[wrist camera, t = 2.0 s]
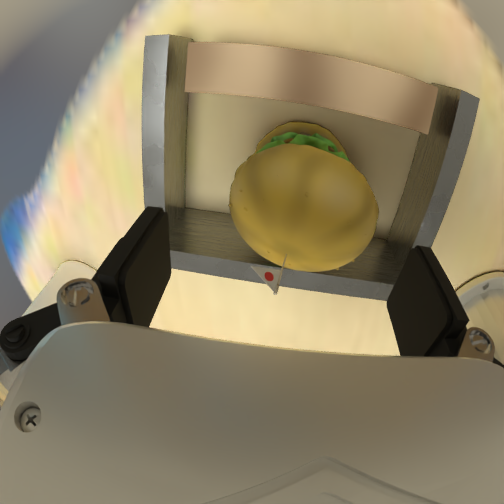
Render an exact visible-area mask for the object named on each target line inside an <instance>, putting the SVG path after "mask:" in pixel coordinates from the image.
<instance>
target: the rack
mask: <svg viewBox="0 0 504 504" xmlns="http://www.w3.org/2000/svg"><path fill="white" fill-rule="evenodd" d="M188 42H193V39H189V38H184V37H180V36H175V35H170V34H168V35H152V36H145V47H144V63H143V84H142V164H143V187H144V204H145V209H146V207H147V206H152V207H161V208H163V210H164V212H167V213H168V221H169V241H170V257H171V268H173V269H179V270H184V271H190V272H196V273H202V274H208V275H214V276H220V277H226V278H232V279H238V280H244V281H250V282H257V283H263V284H266V283H265V282H264V281H263V279H262V278H261V277H260V276H259V275H258V274H257V273H256V272H255V271H254V270H253V269H252V268H251V266H256V267H263V268H270V269H278V270H281V268H282V267H281V266H279V265H277V264H275V263H273V262H271V261H269V260H267V259H266V258H264V257H262V256H261V255H259V254H258V253H256V252H255V251H254V250H253V249H252V248H251V247H250V246H249V245H248V244H247V243H246V242H245V240H244V239H243V238H242V237H241V235H240V234H239V232H238V231H237V229H236V226H235V224H234V222H233V219H232V216H231V214H226V213H219V212H212V211H205V210H197V209H190V208H185V163H186V132H187V111H188V94H189V92H185V80H186V66H187V53H188ZM431 85H433V86H436V87H438V92H437V97H436V102H435V107H434V111H433V116H432V120H431V124H430V128H429V132H428V134H424V133H420V137H419V141H418V145H417V148H416V152H415V156H414V159H413V163H412V166H411V170H410V173H409V176H408V179H407V183H406V186H405V189H404V192H403V195H402V198H401V201H400V204H399V207H398V210H397V213H396V216H395V219H394V222H393V225H392V227H391V230H390V233H389V236H388V238H387V240H383V239H378V238H373V237H372V239H371V241H370V243H369V244H368V245H367V247H366V248H365V250H364V251H363V252H362V253H361V254H360V255H359V256H357V257H356V258H355V259H354V260H355V261H354V262H352V261H351V262H349V263H347V264H345V265H343V266H341V267H339V270H336V269H332V270H328V271H321V272H306V271H297V270H292V269H289V268H286V267H284V268H283V272H282V276H281V280H280V284H279V286H283V287H289V288H296V289H303V290H310V291H317V292H324V293H331V294H338V295H346V296H353V297H361V298H368V299H376V300H384V301H387V299H388V297H389V295H390V293H391V291H392V289H393V287H394V284H395V282H396V280H397V278H398V276H399V274H400V272H401V270H402V268H403V265H404V263H405V261H406V259H407V257H408V254H409V252H410V250H411V249H412V248H415V246H417V245H419V246H425V247H430V248H431V246H432V244H433V241H434V239H435V237H436V234H437V232H438V230H439V227H440V225H441V222H442V220H443V217H444V215H445V212H446V210H447V207H448V205H449V202H450V199H451V197H452V194H453V191H454V188H455V185H456V182H457V180H458V177H459V174H460V170H461V167H462V164H463V161H464V158H465V154H466V151H467V148H468V144H469V141H470V137H471V133H472V129H473V126H474V122H475V117H476V113H477V109H478V104H479V100H480V99H479V98H477V97H475V96H473V95H471V94H469V93H467V92H465V91H462V90H459V89H455V88H451V87H447V86H443V85H438V84H434V83H432V84H431Z"/></svg>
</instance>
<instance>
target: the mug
mask: <svg viewBox="0 0 504 504" xmlns="http://www.w3.org/2000/svg"><path fill="white" fill-rule="evenodd" d="M96 272H97V271H96V270H94V269H93V268H91V267H90V266H88V265H86V264H84V263H81V262H78V261H66V262H63V263H62V264H61V265H60V266H59V267H58V269H57V271H56V273H55V274H54V276H53V277H52V278H51V280H50V281H49V282H48V283H47V285H46V286H45V287H44V288H43V290H42V291H41V292H40V293H39V295H38V296H37V297H36V298H35V300H34V301H33V302H32V304H31V305H30V306H29V308H28V309H27V310H26V312H25V313H24V314H23V316H24V315H27V314H29V313H32V312H34V311H37V310H39V309H42V308H44V307H47V306H49V305H52V304H54V303H57V293H58V291H59V289H60V288H61V287H62V286H63V285H64V284H65V283H67V282H68V281H71V280H73V279H77V278H87V279H92V278H93V276H94V275H95V273H96Z"/></svg>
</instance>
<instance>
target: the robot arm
mask: <svg viewBox="0 0 504 504" xmlns="http://www.w3.org/2000/svg"><path fill="white" fill-rule="evenodd" d="M170 276H171V257H170V241H169V221H168V213H167V212H164V210H163V208H161V207H152V206H147V207H146V209H145V210H144V211H143V212H142V214H141V215H140V216H139V218H138V219H137V220H136V221H135V223H134V224H133V225H132V227H131V228H130V229H129V231H128V232H127V233H126V235H125V236H124V237H123V238H121V239H120V240H119V241H118V242H117V244H116V245H115V246H114V248H113V249H112V251H111V252H110V253H109V255H108V256H107V258H106V259H105V260H104V262H103V263H102V265H101V266H100V267H99V269H98V270H97V272H96V273H95V275H94V276H93V278H92V279H87V278H77V279H73V280H71V281H68V282H67V283H65V284H64V285H63V286H62V287H61V288H60V289H59V291H58V293H57V303H54V304H52V305H49V306H47V307H44V308H42V309H39V310H37V311H34V312H32V313H29V314H27V315H24V316H22V317H20V318H17V319H15V320H13V321H11V322H9V323H8V324H7V325H6V326H5V327H4V328H3V330H2V331H1V334H0V504H504V272H492V273H488V274H484V275H482V276H480V277H477V278H475V279H473V280H472V281H470V282H468V283H466V284H465V285H464V286H462V287H461V288H460V289H458V290H457V291H456V292H455V290H454V288H453V286H452V285H451V283H450V281H449V279H448V277H447V275H446V274H445V272H444V270H443V268H442V267H441V265H440V263H439V261H438V260H437V258H436V256H435V254H434V253H433V251H432V249H431V248H430V247H425V246H419V245H417V246H415V248H412V249H411V250H410V252H409V254H408V257H407V259H406V261H405V263H404V265H403V268H402V270H401V272H400V274H399V276H398V278H397V280H396V282H395V284H394V287H393V289H392V291H391V293H390V295H389V297H388V299H387V309H388V312H389V315H390V319H391V322H392V326H393V329H394V333H395V337H396V340H397V344H398V348H399V352H400V355H401V356H389V355H367V354H351V353H336V352H323V351H312V350H301V349H291V348H282V347H273V346H265V345H257V344H249V343H242V342H234V341H227V340H221V339H214V338H208V337H202V336H196V335H190V334H184V333H178V332H172V331H167V330H161V329H156V328H150V327H149V326H150V323H151V321H152V318H153V316H154V314H155V311H156V309H157V307H158V304H159V302H160V300H161V297H162V295H163V293H164V290H165V288H166V286H167V284H168V281H169V279H170Z"/></svg>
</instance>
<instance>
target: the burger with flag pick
mask: <svg viewBox="0 0 504 504" xmlns="http://www.w3.org/2000/svg"><path fill="white" fill-rule="evenodd" d="M229 207H230V212H231V216H232V219H233V222H234V224H235V226H236V229H237V231H238V232H239V234H240V235H241V237H242V238H243V239H244V240H245V242H246V243H247V244H248V245H249V246H250V247H251V248H252V249H253V250H254V251H255V252H256V253H258V254H259V255H261V256H262V257H264V258H266V259H267V260H269V261H271V262H273V263H275V264H277V265H279V266H281V267H282V268H281V270H278V269H270V268H263V267H256V266H251V268H252V269H253V270H254V271H255V272H256V273H257V274H258V275H259V276H260V277H261V278H262V279H263V281H264V282H265V283H266V284H267V285H268V286H269V287H270V288H271V289H272V290H273V291H274V293H273V294H274V295H277V292H278V288H279V284H280V280H281V276H282V272H283V268H284V267H286V268H289V269H292V270H297V271H306V272H321V271H328V270H332V269H336V270H339V267H341V266H343V265H345V264H347V263H349V262H351V261H352V262H354V261H355V260H354V259H355V258H356V257H357V256H359V255H360V254H361V253H362V252H363V251H364V250H365V248H366V247H367V245H368V244H369V243H370V241H371V239H372V237H373V235H374V233H375V230H376V224H377V219H378V215H379V209H378V205H377V202H376V200H375V196H374V194H373V192H372V190H371V188H370V186H369V184H368V183H367V180H366V178H365V177H364V176H363V174H361V173H360V172H359V171H358V170H357V169H356V168H355V166H354V165H353V164H351V163H350V161H349V159H348V157H347V155H346V151H345V149H344V148H343V147H342V146H341V144H340V143H339V141H338V140H337V139H336V138H335V137H334V136H333V134H332V133H331V132H330V131H329V130H327V129H325V128H322V127H320V126H319V125H317V124H310V123H306V122H288V123H286V124H284V125H280V126H277V127H276V128H275V129H274V130H273V131H271V132H270V133H268V134H266V136H265V137H264V138H263V139H262V140H261V141H260V142H259V143H258V144H257V147H256V151H255V153H254V154H253V155H251V156H250V157H249V158H248V159H247V161H246V162H244V163H243V164H242V165H241V166H240V167H239V168H238V169H237V171H236V173H235V178H234V181H233V183H232V185H231V190H230V201H229Z"/></svg>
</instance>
